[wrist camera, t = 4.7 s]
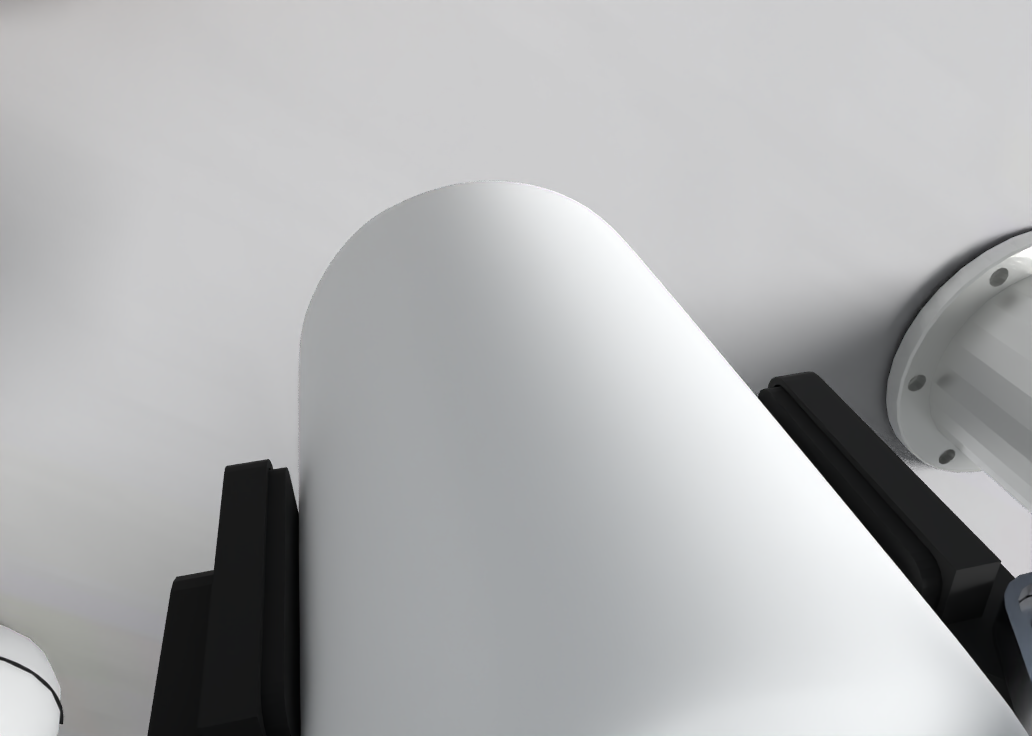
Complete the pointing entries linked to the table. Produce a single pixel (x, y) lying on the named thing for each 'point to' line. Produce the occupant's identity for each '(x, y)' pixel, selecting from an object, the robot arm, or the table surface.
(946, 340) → the robot arm
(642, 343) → the can
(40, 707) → the white rounded egg-shaped part
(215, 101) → the table surface
